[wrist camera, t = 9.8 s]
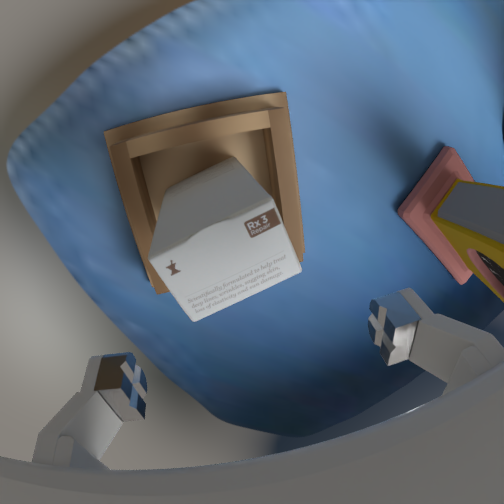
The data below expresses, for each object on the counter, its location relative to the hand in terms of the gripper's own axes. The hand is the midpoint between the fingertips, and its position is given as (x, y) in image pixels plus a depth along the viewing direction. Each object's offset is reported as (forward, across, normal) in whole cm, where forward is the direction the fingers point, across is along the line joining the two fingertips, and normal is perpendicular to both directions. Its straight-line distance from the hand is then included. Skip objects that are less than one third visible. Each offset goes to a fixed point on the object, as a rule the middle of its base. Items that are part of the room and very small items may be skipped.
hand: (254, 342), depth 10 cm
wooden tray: (+17, +1, 0) cm, 17 cm away
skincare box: (+17, +1, 0) cm, 17 cm away
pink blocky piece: (+18, -25, +8) cm, 32 cm away
